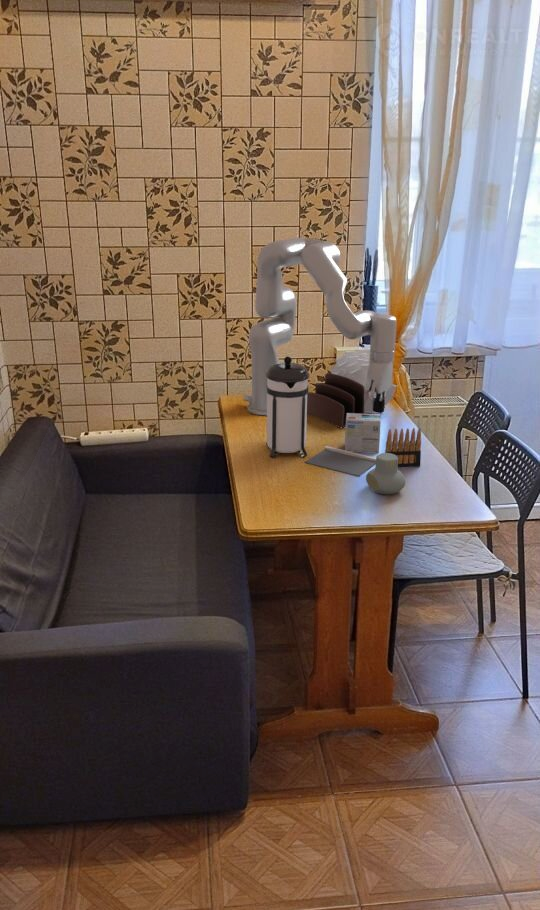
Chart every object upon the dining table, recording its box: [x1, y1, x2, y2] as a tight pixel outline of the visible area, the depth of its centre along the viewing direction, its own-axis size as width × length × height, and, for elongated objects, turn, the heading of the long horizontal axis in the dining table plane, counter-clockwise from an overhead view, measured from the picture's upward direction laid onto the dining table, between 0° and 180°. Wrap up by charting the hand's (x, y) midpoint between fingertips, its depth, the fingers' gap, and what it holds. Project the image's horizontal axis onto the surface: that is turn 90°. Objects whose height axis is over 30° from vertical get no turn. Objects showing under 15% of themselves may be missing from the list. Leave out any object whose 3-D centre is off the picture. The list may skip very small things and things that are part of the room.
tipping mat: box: [304, 445, 376, 477], centre depth 229 cm, size 18×13×1 cm
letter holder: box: [307, 372, 365, 429], centre depth 263 cm, size 10×20×14 cm, turn 37°
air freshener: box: [365, 452, 406, 495], centre depth 209 cm, size 11×8×10 cm
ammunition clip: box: [384, 427, 422, 469], centre depth 224 cm, size 11×2×12 cm, turn 97°
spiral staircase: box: [330, 348, 397, 414], centre depth 275 cm, size 18×18×25 cm
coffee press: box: [265, 356, 310, 459], centre depth 232 cm, size 17×16×30 cm
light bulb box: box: [344, 413, 381, 454], centre depth 237 cm, size 11×7×11 cm, turn 84°
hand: (378, 411), depth 243 cm, fingers closed
